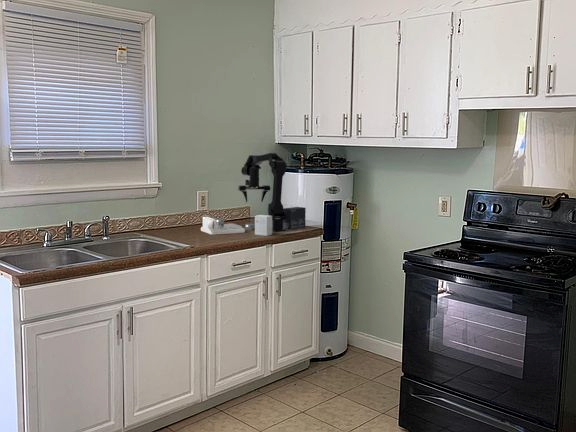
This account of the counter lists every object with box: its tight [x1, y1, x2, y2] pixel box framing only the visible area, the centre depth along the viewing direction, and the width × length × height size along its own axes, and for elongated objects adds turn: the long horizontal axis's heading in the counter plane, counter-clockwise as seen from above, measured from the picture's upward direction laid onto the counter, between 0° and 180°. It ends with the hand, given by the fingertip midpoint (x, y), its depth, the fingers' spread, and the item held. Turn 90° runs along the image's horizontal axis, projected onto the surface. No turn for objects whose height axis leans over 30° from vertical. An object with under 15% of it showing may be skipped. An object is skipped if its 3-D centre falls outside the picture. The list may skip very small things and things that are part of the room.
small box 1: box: [254, 214, 273, 237], centre depth 329 cm, size 8×6×10 cm
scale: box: [200, 216, 246, 235], centre depth 336 cm, size 15×22×8 cm
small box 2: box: [283, 206, 307, 230], centre depth 355 cm, size 13×7×12 cm, turn 136°
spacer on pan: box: [214, 218, 225, 226], centre depth 339 cm, size 5×5×3 cm
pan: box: [218, 223, 243, 229], centre depth 338 cm, size 12×12×1 cm
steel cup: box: [244, 223, 255, 231], centre depth 346 cm, size 5×5×3 cm
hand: (254, 202), depth 362 cm, fingers open, 9 cm apart
